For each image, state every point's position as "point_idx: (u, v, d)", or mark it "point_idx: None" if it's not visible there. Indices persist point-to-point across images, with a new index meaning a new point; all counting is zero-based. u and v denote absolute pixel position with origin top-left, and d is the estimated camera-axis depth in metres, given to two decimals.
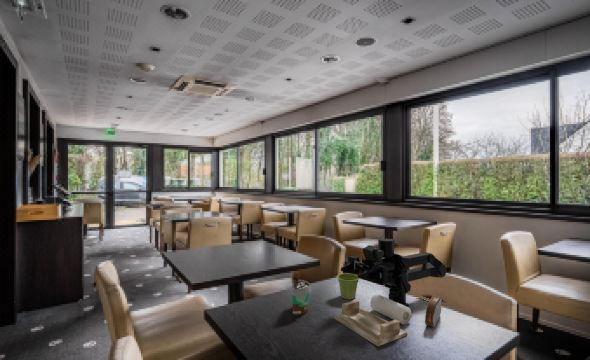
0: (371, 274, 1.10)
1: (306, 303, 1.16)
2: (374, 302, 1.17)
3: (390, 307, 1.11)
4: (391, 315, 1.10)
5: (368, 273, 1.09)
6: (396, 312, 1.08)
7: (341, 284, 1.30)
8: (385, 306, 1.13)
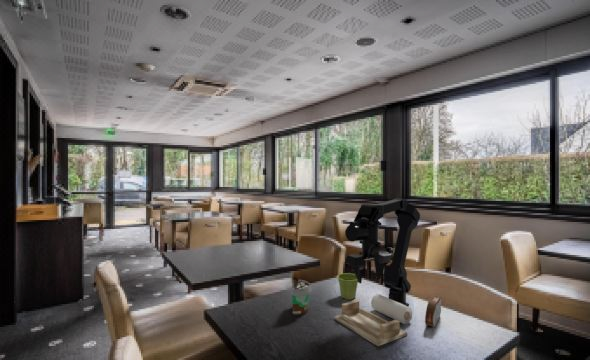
0: None
1: (306, 303, 1.16)
2: (375, 301, 1.17)
3: (391, 306, 1.11)
4: (392, 314, 1.10)
5: None
6: (397, 310, 1.09)
7: (341, 284, 1.30)
8: (386, 305, 1.13)
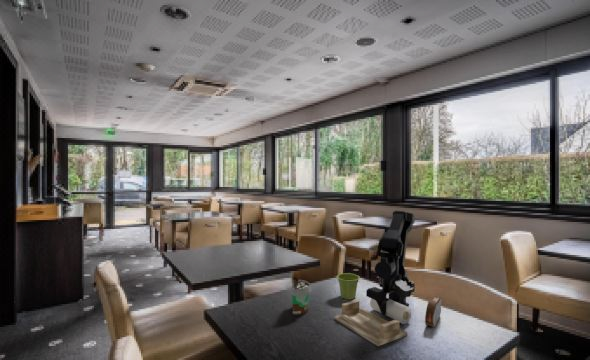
0: None
1: (306, 303, 1.16)
2: (374, 302, 1.17)
3: (390, 307, 1.11)
4: (391, 315, 1.10)
5: None
6: (396, 312, 1.08)
7: (341, 284, 1.30)
8: None
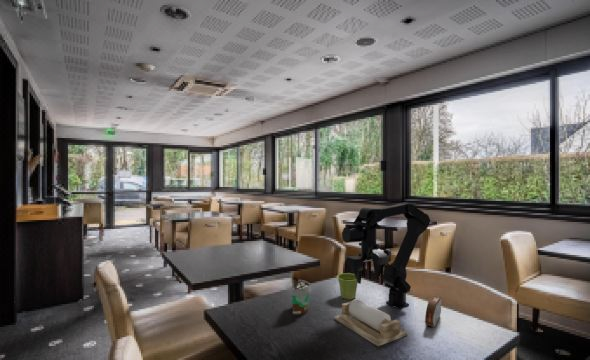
0: None
1: (306, 303, 1.16)
2: (352, 308, 1.09)
3: (368, 314, 1.03)
4: (370, 323, 1.01)
5: None
6: (374, 319, 1.00)
7: (341, 284, 1.30)
8: (363, 312, 1.04)
